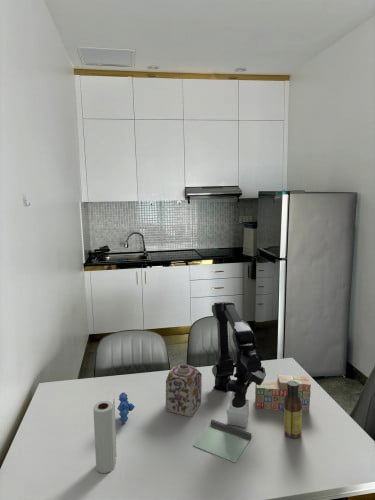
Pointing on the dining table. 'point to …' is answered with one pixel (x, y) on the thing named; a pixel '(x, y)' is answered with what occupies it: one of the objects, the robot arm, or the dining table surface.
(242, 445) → the pale green flat panel
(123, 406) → the grapes
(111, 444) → the paper towel roll
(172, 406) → the decorative jar
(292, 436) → the sauce bottle
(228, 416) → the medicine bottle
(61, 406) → the dining table surface
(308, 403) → the stack of blocks
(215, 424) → the strip
